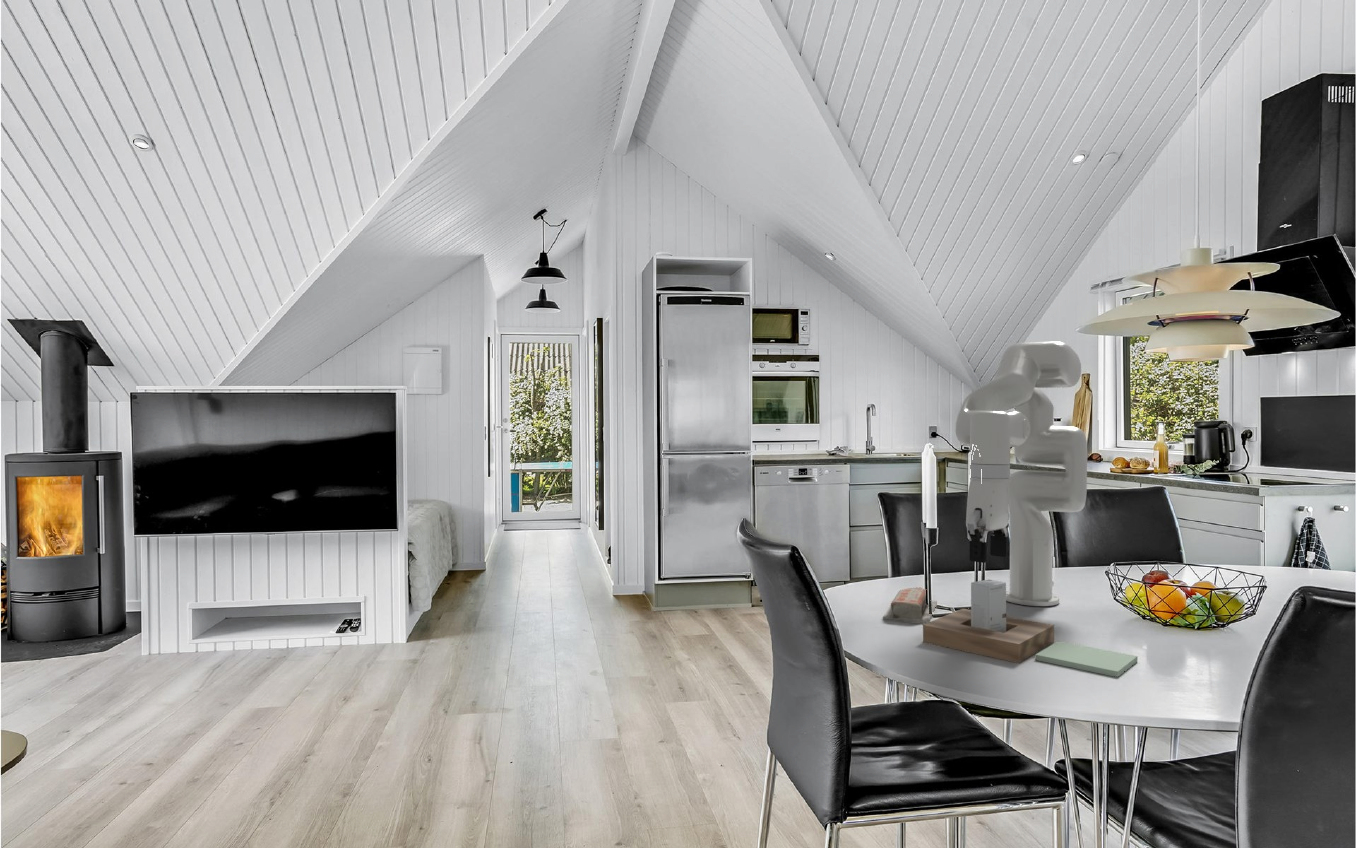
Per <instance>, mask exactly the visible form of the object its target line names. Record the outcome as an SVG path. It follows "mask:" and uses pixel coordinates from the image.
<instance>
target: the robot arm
mask: <svg viewBox="0 0 1356 848" xmlns="http://www.w3.org/2000/svg"><path fill="white" fill-rule="evenodd" d="M1081 375H1082V363H1081V360H1080V357H1079V355H1078V353H1077V352H1076V351H1075V350H1074V349H1073V348H1072V346H1070V345H1069V344H1067V343H1065V342H1062V341H1056V340H1054V341H1035V342H1034V341H1033V342H1031V341H1029V342H1017V343H1014V344H1012V345H1010V346H1008V347H1007V348H1006V349H1005V351H1004V353H1002V357H1001V360H1000V362H999V365H998V368H997V370H996V373H995V376H994V379H993V380H990V381H989V382H986V383H984V384H983V385H982V386H979V387H978V388H976V389H975V390H973V391H972V392H971V393H969V394H968V395H967V396H966V397H965V398H964V400H963V402H962V404H961V407H960V409H959V411H958V415H957V417H956V421H955V436H956V438H957V440H958V442H960V443H961V444H962V445H964V446H968V447H969V453H970V452H971V450H972V444H974V446H973V450H972V454H971V465H970V464H969V470H970V469H971V478H970V480H969V485H968V490H967V501H966V515H965V516H966V517H965V526H966V529H967V533H968V540H969V561H970V562H973V563H984V564H985V563H987V561H988V559H987V557H988V556H987V555H988V551H987V549H988V548H987V547H988V542H987V541H986V539H987V536H988V532H991V535H990V539H989V540H990V544H989V546H990V547H989V548H990V550H989V554H990V555H991V556H993V557H994V556H995V557H1002V558H1006V557H1007V555H1008V537H1009V590H1006V602H1009V603H1012V604H1016V605H1022V606H1029V607H1052V606H1057V605H1058V604H1059V603H1060V598H1059V596H1057V595H1056V594H1053V587H1054V586H1055V582H1054V581H1053V547H1054V546H1053V545H1054V544H1053V543H1054V541H1053V539H1054V532H1053V527H1052V525H1051V523H1050V522H1049V520H1048V519H1047V517H1046V516H1045V515H1044V513H1042V512H1056V513H1058V512H1059V513H1078V512H1080V511H1082V510H1083V509H1084V508H1085V506H1086V501H1087V490H1088V489H1087V488H1088V483H1087V482H1088V480H1087V479H1088V441H1087V437H1086V436H1087V435H1086V434H1085V432H1084V431H1083V430H1082V429H1081V428H1079V427H1076V426H1072V425H1071V426H1068V425H1067V426H1066V425H1065V426H1064V425H1054V410H1055V409H1054V408H1055V407H1054V405H1053V403H1052V401H1051V399H1050V398H1049V397H1048V395H1047V394H1046V393H1045V392H1044V391H1043V390H1042V389H1043V388H1045V389H1050V388H1051V389H1052V388H1057V389H1058V388H1062V389H1064V388H1065V389H1066V388H1072V387H1074V386H1076V385H1077V384H1078V382H1079V381H1080V379H1081ZM1041 388H1042V389H1041ZM1011 409H1015V410H1011ZM975 445H977V447H976V446H975ZM974 447H975V448H976V450H975V451H974ZM1011 448H1014V454H1015V455H1014V456H1015V458H1016V461H1018V462H1019V463H1021V464H1025V465H1033V466H1054V467H1055V466H1057V467H1063V468H1064V469H1065V471H1049V470H1035V469H1034V470H1032V469H1027V470H1026V469H1025V470H1024V469H1023V470H1017V471H1015V472H1013V473H1011ZM977 449H979V451H978V450H977ZM973 452H974V455H973ZM979 453H980V455H981V457H979ZM972 455H973V460H972ZM981 469H982V484H981ZM1008 528H1009V532H1008Z"/></svg>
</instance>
